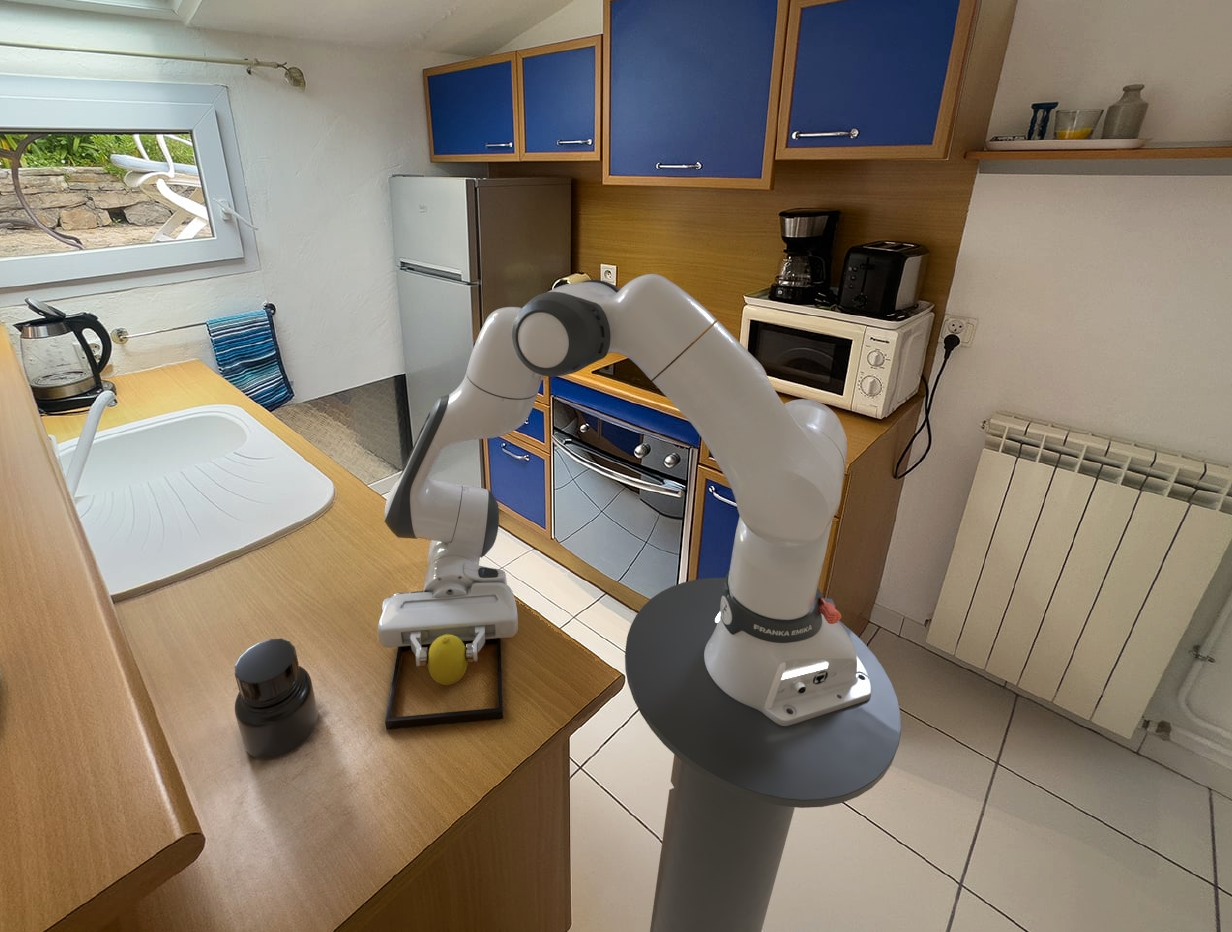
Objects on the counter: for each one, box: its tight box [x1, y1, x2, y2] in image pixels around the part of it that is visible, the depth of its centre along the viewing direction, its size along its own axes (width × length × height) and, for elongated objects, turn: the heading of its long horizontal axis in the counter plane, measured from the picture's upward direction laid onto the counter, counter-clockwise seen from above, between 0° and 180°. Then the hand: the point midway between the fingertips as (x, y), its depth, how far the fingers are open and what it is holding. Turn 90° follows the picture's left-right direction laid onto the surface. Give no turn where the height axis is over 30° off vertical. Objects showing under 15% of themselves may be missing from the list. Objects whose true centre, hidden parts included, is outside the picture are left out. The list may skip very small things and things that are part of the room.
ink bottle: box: [234, 638, 319, 760], centre depth 73 cm, size 10×9×12 cm
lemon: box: [427, 634, 469, 686], centre depth 80 cm, size 6×6×8 cm
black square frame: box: [384, 638, 504, 731], centre depth 82 cm, size 15×13×2 cm
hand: (447, 660), depth 79 cm, fingers closed on lemon, 5 cm apart
